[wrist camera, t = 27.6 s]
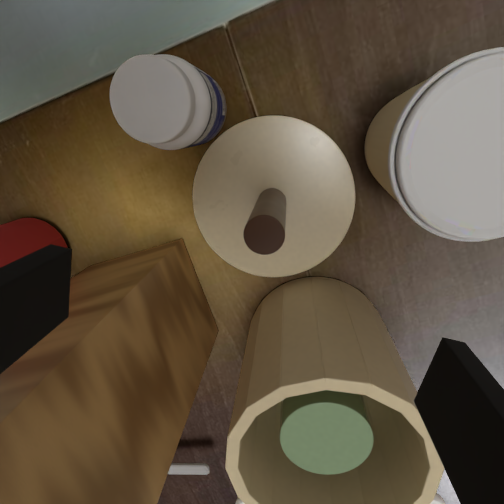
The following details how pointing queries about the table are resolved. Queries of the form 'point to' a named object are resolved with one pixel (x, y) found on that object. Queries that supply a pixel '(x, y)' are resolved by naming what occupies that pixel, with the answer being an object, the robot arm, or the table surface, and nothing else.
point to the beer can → (26, 238)
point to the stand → (107, 385)
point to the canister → (326, 431)
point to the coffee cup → (446, 149)
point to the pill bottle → (167, 102)
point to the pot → (319, 379)
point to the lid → (273, 196)
